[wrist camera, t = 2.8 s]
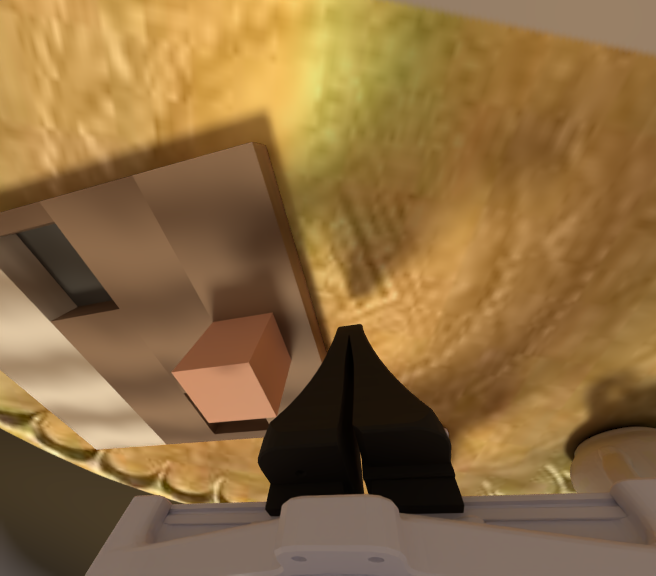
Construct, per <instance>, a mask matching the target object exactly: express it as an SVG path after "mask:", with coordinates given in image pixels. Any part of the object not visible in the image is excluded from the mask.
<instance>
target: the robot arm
mask: <svg viewBox="0 0 656 576" xmlns="http://www.w3.org/2000/svg"><path fill="white" fill-rule="evenodd" d="M360 454H361V457H362V468H361V458H360ZM258 464H259V466H260V468H261V470H262V472H263V473H264V474H265V476H266V477H267V479H268V480H269V482H270V483H271V484H270V489H269V493H268V497H267V502H241V503H204V504H171V502H170V501H169V500H168V499H167V498H165V497H163V496H160V495H145V496H136V497H134V498H133V500H132V501H131V503H130V504H129V506H128V508H127V509H126V511H125V512H124V514H123V515H122V517H121V519H120V520H119V522H118V523H117V525H116V527H115V528H114V530H113V531H112V533H111V535H110V536H109V538H108V539H107V541H106V543H105V544H104V546H103V547H102V549H101V551H100V552H99V554H98V556H97V557H96V558H95V560H94V562H93V564H92V565H91V566H90V568H89V570H88V571H87V573H86V574H85V576H656V478H634V479H623V480H620V481H617V482H615V483H614V484H613V485H612V486H611V488H610V492H604V493H568V494H531V495H495V496H461V494H460V491H459V488H458V485H457V482H456V480H455V472H454V469H453V467H452V464H451V443H450V439H449V433H448V431H447V429H446V428H444V427H443V426H442V424H441V422H440V421H439V419H438V418H437V416H436V415H435V413H434V412H433V410H432V409H431V408H429V407H428V406H427V405H425V404H424V403H423V402H422V401H420V400H419V399H418V398H417V397H416V396H414V395H413V394H412V393H411V392H410V391H409V390H408V389H407V388H405V387H404V386H403V385H402V384H401V383H400V382H399V381H398V380H397V379H396V378H395V377H394V375H393V374H392V373H391V372H390V371H389V370H388V369H387V367H386V366H385V365H384V364H383V363H382V361H381V360H380V359H379V357H378V356H377V354H376V353H375V351H374V350H373V348H372V346H371V345H370V343H369V341H368V339H367V337H366V335H365V333H364V330H363V326H362V325H361V324H357V325H350V326H343V327H339V328H338V329H337V332H336V335H335V337H334V340H333V342H332V344H331V346H330V349H329V351H328V353H327V355H326V357H325V358H324V360H323V362H322V364H321V365H320V367H319V369H318V370H317V372H316V373H315V375H314V376H313V378H312V379H311V380H310V382H309V383H308V384H307V385H306V387H305V388H304V389H303V390H302V392H301V393H300V394H299V395H298V396H297V397H296V398H295V399H294V400H293V402H292V403H291V404H290V405H289V406H288V407H287V408H286V409H285V410H283V411H282V412H281V413H280V414H279V415H278V416H277V417H276V418H275V419H273V420H272V421H271V422H270V424H269V426H268V429H267V431H266V434H265V436H264V439H263V442H262V446H261V449H260V453H259V456H258ZM362 471H363V479H362ZM363 480H364V481H365V483H366V487H367V490H368V494H364V488H363Z"/></svg>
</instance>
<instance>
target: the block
mask: <svg viewBox="0 0 656 576" xmlns="http://www.w3.org/2000/svg"><path fill="white" fill-rule="evenodd" d="M290 364H291V358H290V356H289V353H288V351H287V348H286V345H285V343H284V340H283V338H282V335H281V333H280V330H279V328H278V325H277V323H276V320H275V318H274V315H273V313H267V314H260V315H254V316H248V317H241V318H235V319H229V320H223V321H216V322H213V323H212V324H211V325H210V326H209V327H208V329H207V330H206V331H205V332H204V333H203V335H202V336H201V337H200V338H199V339H198V341H197V342H196V343H195V344H194V346H193V347H192V348H191V349H190V350H189V352H188V353H187V354H186V355H185V356H184V358H183V359H182V360H181V361H180V362H179V364H178V365H177V366H176V367H175V368H174V370H173V371H172V372H171V373H172V374H173V375H174V377H175V378H176V379H177V381H178V382H179V383H180V385H181V386H182V387H183V389H184V390H185V391H186V393H187V394H188V396H189V397H190V398H191V400H192V401H193V402H194V404H195V405H196V406H197V408H198V409H199V410H200V412H201V413H202V414H203V416H204V417H205V418H206V420H207V421H208V422H209V423H214V422H226V421H238V420H249V419H261V418H272V417H277V414H278V410H279V407H280V403H281V399H282V395H283V391H284V387H285V383H286V380H287V376H288V372H289V368H290Z"/></svg>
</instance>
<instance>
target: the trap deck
mask: <svg viewBox="0 0 656 576" xmlns="http://www.w3.org/2000/svg"><path fill="white" fill-rule="evenodd" d="M267 313H273V315H274V318H275V320H276V323H277V325H278V328H279V330H280V333H281V335H282V338H283V340H284V343H285V345H286V348H287V351H288V353H289V356H290V358H291V364H290V368H289V372H288V376H287V380H286V383H285V387H284V391H283V395H282V399H281V403H280V407H279V410H278V414H277V416H278V415H279V414H280V413H281V412H282V411H283V410H285V409H286V408H287V407H288V406H289V405H290V404H291V403H292V402H293V400H294V399H295V398H296V397H297V396H298V395H299V394H300V393H301V392H302V390H303V389H304V388H305V387H306V385H307V384H308V383H309V382H310V380H311V379H312V378H313V376H314V375H315V373H316V372H317V370H318V369H319V367H320V365H321V364H322V362H323V360H324V358H325V357H326V355H327V352H326V349H325V345H324V342H323V338H322V335H321V332H320V328H319V325H318V321H317V318H316V315H315V311H314V308H313V304H312V301H311V298H310V294H309V291H308V287H307V284H306V281H305V277H304V274H303V270H302V267H301V264H300V260H299V257H298V253H297V250H296V247H295V243H294V240H293V236H292V233H291V230H290V226H289V223H288V219H287V216H286V213H285V209H284V206H283V202H282V199H281V196H280V192H279V189H278V185H277V182H276V179H275V175H274V172H273V168H272V165H271V162H270V158H269V155H268V151H267V148H266V145H262V144H258V143H254V142H250V143H246V144H242V145H239V146H235V147H232V148H228V149H225V150H221V151H218V152H214V153H210V154H207V155H203V156H200V157H196V158H193V159H189V160H185V161H182V162H178V163H175V164H171V165H168V166H164V167H160V168H157V169H153V170H150V171H146V172H143V173H139V174H136V175H132V176H128V177H125V178H121V179H118V180H114V181H111V182H107V183H103V184H100V185H96V186H93V187H89V188H86V189H82V190H79V191H75V192H71V193H68V194H64V195H61V196H57V197H54V198H50V199H46V200H43V201H39V202H36V203H32V204H29V205H25V206H22V207H18V208H14V209H11V210H7V211H4V212H0V370H1V371H2V372H3V373H5V374H6V375H7V376H8V377H9V378H11V379H12V380H13V381H14V382H15V383H17V384H18V385H19V386H20V387H21V388H23V389H24V390H25V391H26V392H28V393H29V394H30V395H31V396H32V397H34V398H35V399H36V400H37V401H38V402H40V403H41V404H42V405H43V406H44V407H46V408H47V409H48V410H49V411H51V412H52V413H53V414H54V415H55V416H57V417H58V418H59V419H60V420H61V421H63V422H64V423H65V424H66V425H67V426H69V427H70V428H71V429H72V430H74V431H75V432H76V433H77V434H78V435H80V436H81V437H82V438H83V439H84V440H86V441H87V442H88V443H89V444H90V445H92V446H93V447H94V448H95V449H111V448H125V447H138V446H152V445H166V444H179V443H193V442H207V441H221V440H234V439H248V438H262V437H264V436H265V434H266V431H267V429H268V426H269V424H270V422H271V421H272V420H273V419H275V418H276V417H272V418H261V419H249V420H238V421H226V422H214V423H209V422H208V421H207V420H206V418H205V417H204V416H203V414H202V413H201V412H200V410H199V409H198V408H197V406H196V405H195V404H194V402H193V401H192V400H191V398H190V397H189V396H188V394H187V393H186V391H185V390H184V389H183V387H182V386H181V385H180V383H179V382H178V381H177V379H176V378H175V377H174V375H173V374H172V373H171V372H172V371H173V370H174V368H175V367H176V366H177V365H178V364H179V362H180V361H181V360H182V359H183V358H184V356H185V355H186V354H187V353H188V352H189V350H190V349H191V348H192V347H193V346H194V344H195V343H196V342H197V341H198V339H199V338H200V337H201V336H202V335H203V333H204V332H205V331H206V330H207V329H208V327H209V326H210V325H211V324H212V323H213V322H216V321H223V320H229V319H235V318H241V317H248V316H254V315H260V314H267Z"/></svg>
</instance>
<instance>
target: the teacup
mask: <svg viewBox="0 0 656 576" xmlns="http://www.w3.org/2000/svg"><path fill="white" fill-rule="evenodd" d="M574 457H575V458H574V460H573V461H572V464H571V467H570V477H571V480H572V483H573V486H574V488H575V490H576V492H577V493H604V492H610V488H611V486H612V485H613V484H614V483H615V482H617V481H620V480H623V479H634V478H656V429H655V428H649V427H626V428H620V429H615V430H610V431H607V432H603V433H600V434H597V435H595V436H592V437H590V438H588V439H586V440H585V441H583V442H582V443H581V444H580V445H579V446H578V447H577V449H576V451H575V453H574Z"/></svg>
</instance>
